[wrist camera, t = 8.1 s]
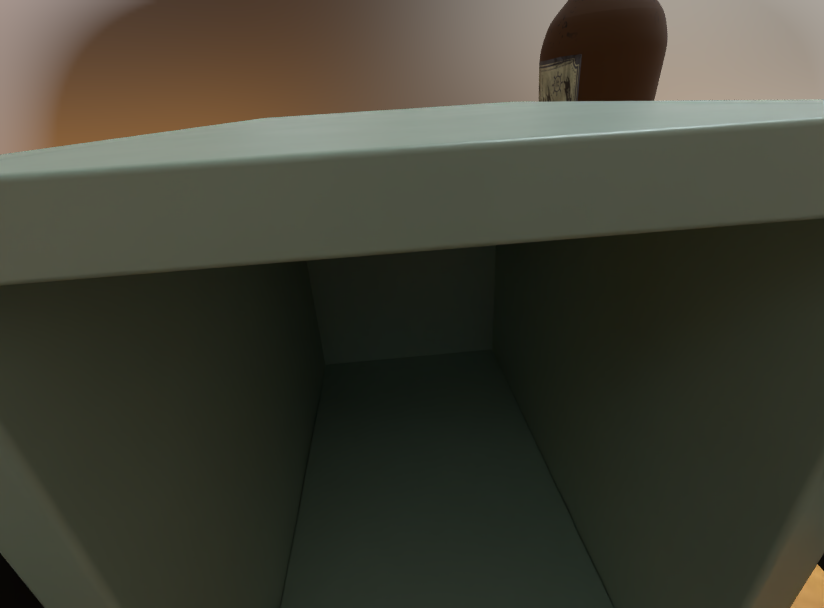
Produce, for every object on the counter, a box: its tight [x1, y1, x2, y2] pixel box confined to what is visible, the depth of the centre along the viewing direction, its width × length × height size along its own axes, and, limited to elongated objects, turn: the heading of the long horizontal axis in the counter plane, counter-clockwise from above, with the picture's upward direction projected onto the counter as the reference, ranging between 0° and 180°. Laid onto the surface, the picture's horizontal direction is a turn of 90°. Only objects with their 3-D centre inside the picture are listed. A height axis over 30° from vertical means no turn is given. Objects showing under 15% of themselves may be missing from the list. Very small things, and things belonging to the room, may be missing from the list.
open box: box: [0, 100, 824, 608], centre depth 12 cm, size 15×10×12 cm, turn 5°
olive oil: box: [539, 0, 667, 102], centre depth 39 cm, size 11×11×25 cm
